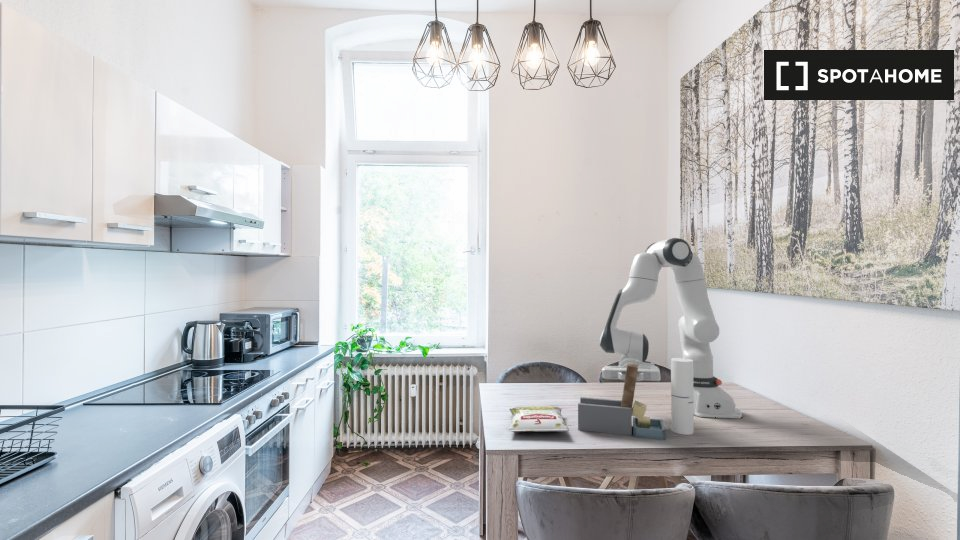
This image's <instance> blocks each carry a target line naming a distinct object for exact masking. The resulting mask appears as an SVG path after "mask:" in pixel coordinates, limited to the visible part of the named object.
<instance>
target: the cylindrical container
mask: <svg viewBox="0 0 960 540" xmlns="http://www.w3.org/2000/svg"><path fill="white" fill-rule="evenodd" d="M670 410H671V411H670V412H671V413H670V414H671V415H670V416H671V417H670V418H671V419H670V420H671V421H670V424H671V426H670V427H671V429H670V430H671V431H672V432H674V433H676V434H680V435H687V436H688V435H689V436H690V435H694V431H695V430H694V429H695V428H694V426H695V425H694V424H695V423H694V408H693V360H691V359H686V358H683V357H673V358H670Z"/></svg>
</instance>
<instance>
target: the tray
mask: <svg viewBox="0 0 960 540" xmlns="http://www.w3.org/2000/svg"><path fill="white" fill-rule="evenodd" d="M632 436H633V437H635V438H642V439H643V438H645V439H652V440H662V441H665V440H666V428H665V425H664V421H663V419H660V418H658V419H657V418H656V419H655V418H650V429H649V428H639V427H638V417H634V416H632Z"/></svg>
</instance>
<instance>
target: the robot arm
mask: <svg viewBox="0 0 960 540" xmlns="http://www.w3.org/2000/svg"><path fill="white" fill-rule="evenodd" d="M700 259H701V258H700V257H699V256H698V255H697V254H695V253H693V250H692V249H691V246H690V244H689V243H688V242H687V241H686V240H685V239H683V238H680V237H679V238H678V237H673V238H667V239H666V238H665V239H662V240H659V241H657V242H653V243H651V244H650V245H649V246H648V247H646V249H645V251H644V252H639V253H638V254H636V255H634V258H633V261H632V263H631V265H630V266H631V267H630V271H629V274H628V281H627V283H626V285H625V286H624V288H621V289H619V290H618V292H617V293H616V296H615V299H614V301H613V303H612V305H611V306H612V307H611V309H610V312H609V315H608V318H607V321H606V324H605V326H604V328H603V330H602V332H601V334H600V336H599V346H600V348H601V349H602V351H604V352H605V353H607V354H618V355H622V356H621V357H620V359H619V361H618V365H606V366H603V367H602V369H601V378H603V379H604V380H605V379H606V380H620V381H624V382H625V376H626V369H627V363H629V364H635V365H638V371H637V378H636V382H642V381H647V382H648V381H651V382H653V381H654V382H660V381H661V370H660V367H659V366H657V365H655V362H652V361H647V359H648V356H649V349H650V348H649V345H650V344H649V340H648V337H647V335H645V334H644V333H642V332H636V331H629V330H624V329H619V328H617V325H618V321H619V319H620V316H621V312H622V310H623V309H624V308H625V307H627V306H629V305H632V304H638V303H642V302H646V301H649V300H650V299H652V298H653V297H654V295H655V294H656V291H657V288H658V287H657V286H658V283H659V273H660V272H661V270H662V268H669V267H670V268H671V270H672V271H673V274H674V280H675V288H676V295H677V300H678V303H679V305H680V306H679V307H680V308H681V311H682V314H683V315H682V316H681V317H680V318H679V320H678V322H677V325H678V332H679V338H680V339H679V340H680V346H681V353H682V358H686V359H691V360H693V408H694V415H695V416H697V417H701V418H715V417H716V418H717V419H718V418H719V419H741V417H743V413H742V411H741V410H740V409H739V408H737V407H736V403H735V399H734V398H733V397H732V396H731V394H729V393H728V392H727V391H725V390H724V389H723V388H722V387H720V386H721V385H722V384H723V381H722V380H721V379H719V378H717V377H716V376H714V357H713V356H714V355H713V353H712V350H711V345H710V343H712V342H714V341H717V339H718V338H719V335H720V326H719V324H718V323H717V321H716V320H717V319H716V318H715V314H714V311H713V308H712V305H711V303H710V299H709V295H708V290H707V289H708V288H707V283H706V275H705V272H704V268H703V265H702V262H701V260H700Z"/></svg>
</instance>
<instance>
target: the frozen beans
mask: <svg viewBox="0 0 960 540" xmlns="http://www.w3.org/2000/svg"><path fill="white" fill-rule="evenodd" d="M562 410H563V408H562V407H558V406H522V407H521V406H520V407H519V406H517V407H513V408H509V412H510V413H511V414H512V417H511V418H512V420H511V425H510V427H509V430H508V431H509V432H511V433H524V432H525V433H540V432H541V433H542V432H543V433H545V432H546V433H547V432H550V433H551V432H560V433H562V432H563V433H565V432H568V431H570V429H569V427H568V426H567V424H566V423H565V421H564V420H563V418H564V417H563V415H562Z"/></svg>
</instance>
